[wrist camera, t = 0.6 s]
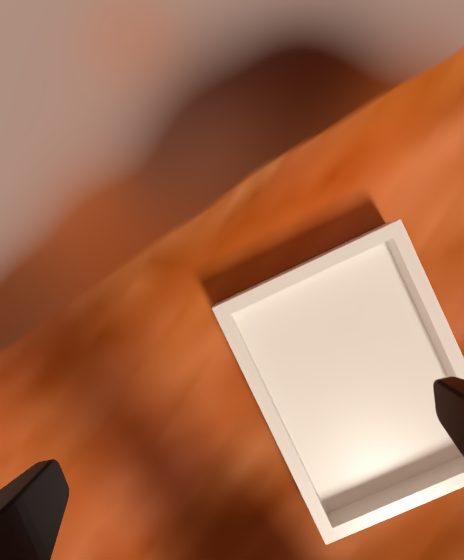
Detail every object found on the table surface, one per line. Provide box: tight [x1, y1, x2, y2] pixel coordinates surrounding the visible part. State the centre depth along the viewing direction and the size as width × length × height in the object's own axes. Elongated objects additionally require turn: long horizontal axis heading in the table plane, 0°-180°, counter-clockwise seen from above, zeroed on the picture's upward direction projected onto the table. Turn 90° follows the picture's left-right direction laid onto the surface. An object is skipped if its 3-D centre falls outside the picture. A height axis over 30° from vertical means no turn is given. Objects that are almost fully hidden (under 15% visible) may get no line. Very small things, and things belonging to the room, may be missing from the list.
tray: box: [212, 219, 464, 545], centre depth 21 cm, size 16×12×2 cm
